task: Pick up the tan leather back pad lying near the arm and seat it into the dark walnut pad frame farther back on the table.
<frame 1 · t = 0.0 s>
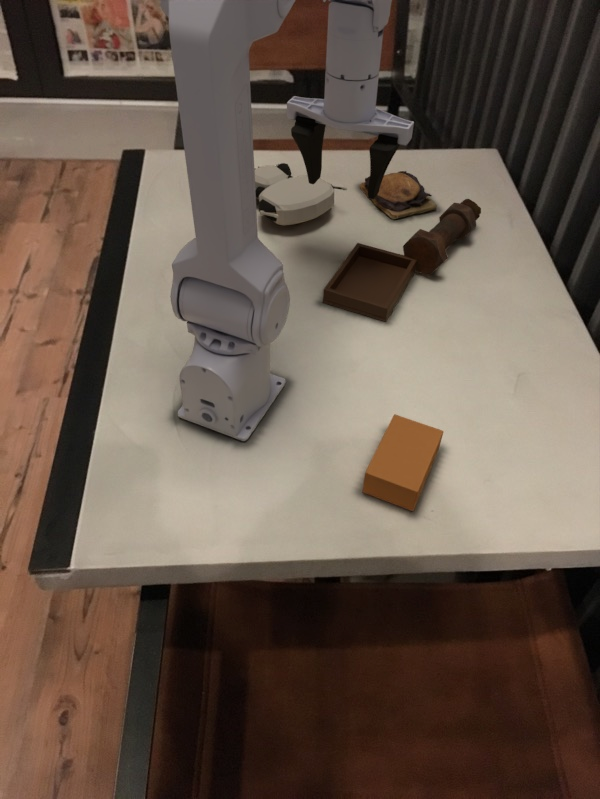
hand: (343, 187, 83), 10 cm above the table, tool pointing down, fingers open, 7 cm apart
robot toy: (282, 208, 98), on the table
back pad: (401, 470, 66), on the table
pad frame: (370, 286, 86), on the table
brown sandwich: (397, 199, 101), on the table
bolt: (445, 247, 92), on the table, touching pad frame
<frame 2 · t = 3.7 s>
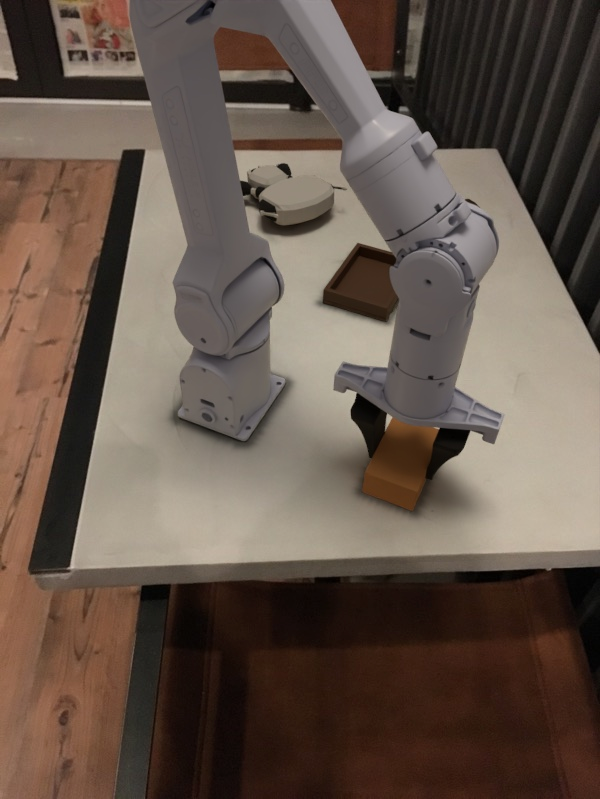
hand: (403, 461, 65), 1 cm above the table, tool pointing down, fingers closed on back pad, 5 cm apart
back pad: (401, 470, 66), on the table, touching gripper
everything else where it was.
when the fingers open (2 cm above the table, at t = 9.5 s): back pad stays where it is, resting on pad frame.
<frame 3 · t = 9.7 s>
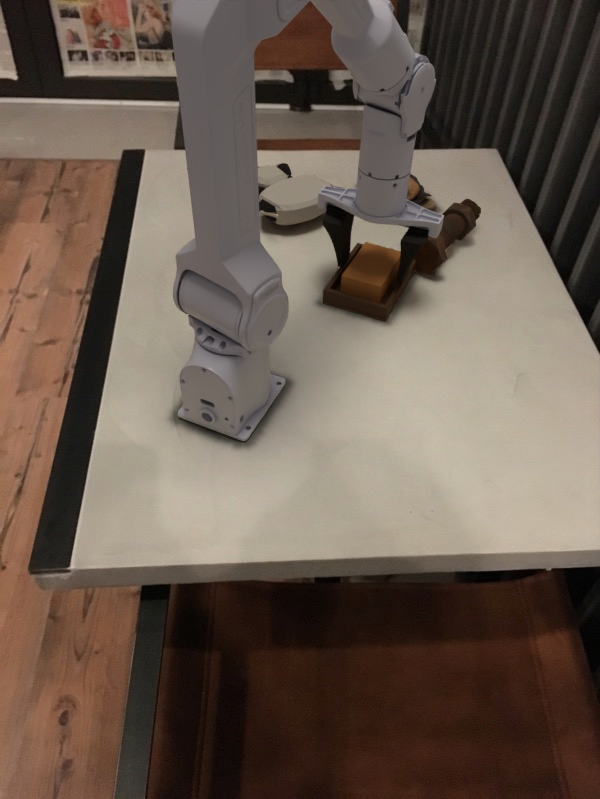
hand: (372, 271, 84), 2 cm above the table, tool pointing down, fingers open, 7 cm apart
back pad: (370, 283, 85), resting on pad frame
everything else where it was.
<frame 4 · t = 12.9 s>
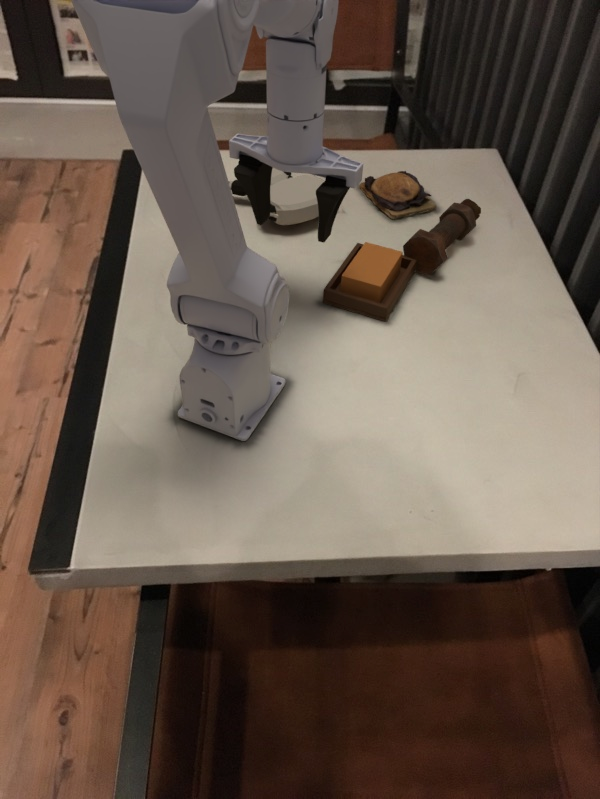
hand: (293, 229, 77), 9 cm above the table, tool pointing down, fingers open, 7 cm apart
nothing on the table moved.
at the end: back pad 0.1 cm off-centre in the pad frame, point 0.5 cm above the pad frame's base; back pad tilted 0°; the gripper is holding nothing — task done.
